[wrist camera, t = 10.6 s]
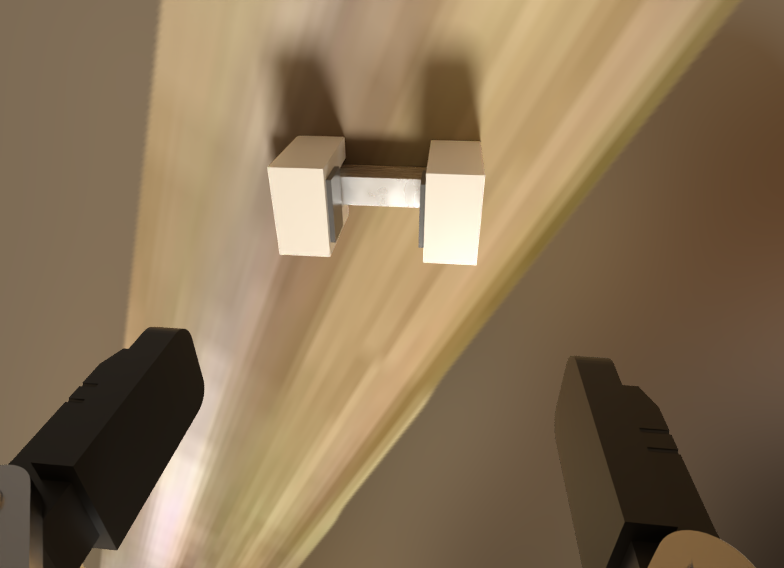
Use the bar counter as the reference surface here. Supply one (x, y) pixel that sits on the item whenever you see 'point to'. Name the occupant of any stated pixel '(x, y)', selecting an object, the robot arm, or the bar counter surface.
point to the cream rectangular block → (308, 195)
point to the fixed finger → (451, 202)
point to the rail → (380, 185)
